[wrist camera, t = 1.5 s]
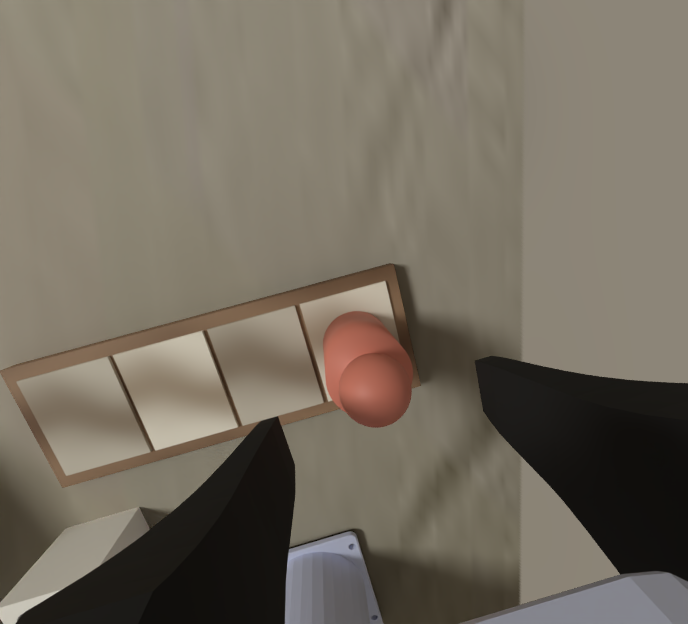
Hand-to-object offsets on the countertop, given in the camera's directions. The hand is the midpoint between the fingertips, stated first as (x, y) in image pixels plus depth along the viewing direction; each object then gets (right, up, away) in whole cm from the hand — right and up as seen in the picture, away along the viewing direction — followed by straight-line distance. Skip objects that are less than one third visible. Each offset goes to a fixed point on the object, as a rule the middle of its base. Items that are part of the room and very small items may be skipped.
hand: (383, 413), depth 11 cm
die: (-17, -13, +11) cm, 24 cm away
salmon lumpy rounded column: (-1, +2, +8) cm, 8 cm away
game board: (-9, 0, +9) cm, 13 cm away
